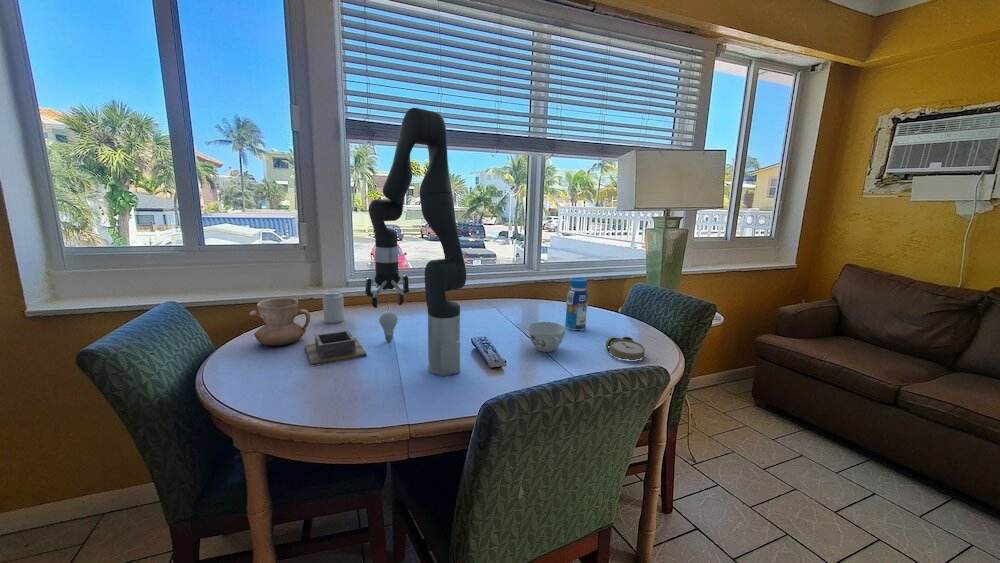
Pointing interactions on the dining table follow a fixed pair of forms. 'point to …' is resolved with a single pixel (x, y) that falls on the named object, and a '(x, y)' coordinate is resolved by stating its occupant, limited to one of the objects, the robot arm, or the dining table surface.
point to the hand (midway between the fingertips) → (387, 306)
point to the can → (333, 306)
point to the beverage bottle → (576, 304)
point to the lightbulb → (388, 324)
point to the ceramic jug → (279, 321)
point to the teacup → (546, 335)
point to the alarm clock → (625, 348)
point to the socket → (334, 348)
